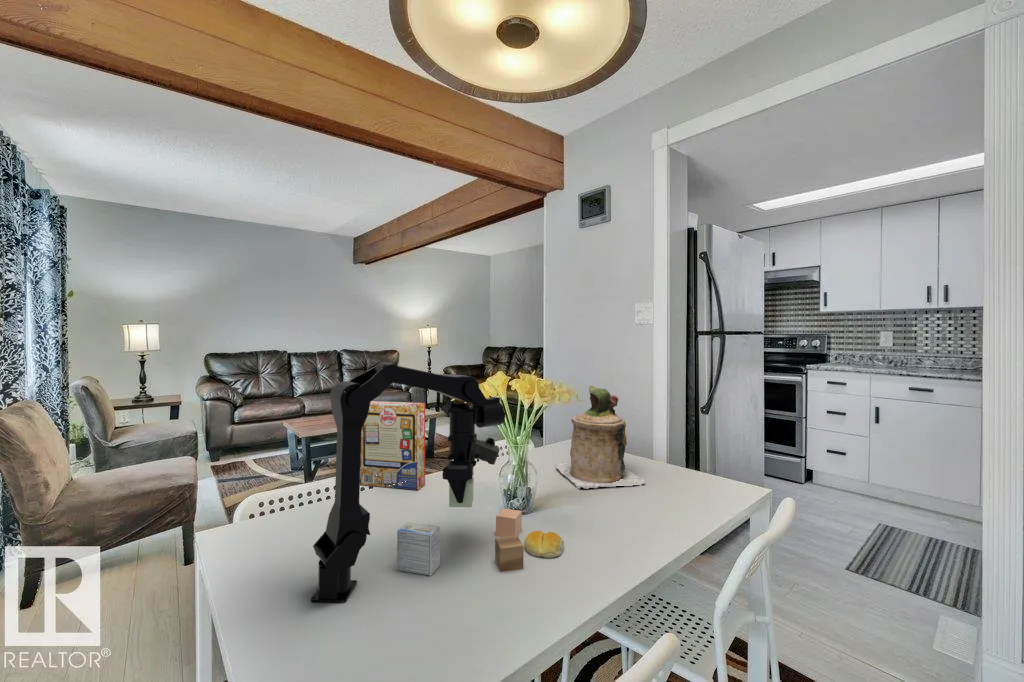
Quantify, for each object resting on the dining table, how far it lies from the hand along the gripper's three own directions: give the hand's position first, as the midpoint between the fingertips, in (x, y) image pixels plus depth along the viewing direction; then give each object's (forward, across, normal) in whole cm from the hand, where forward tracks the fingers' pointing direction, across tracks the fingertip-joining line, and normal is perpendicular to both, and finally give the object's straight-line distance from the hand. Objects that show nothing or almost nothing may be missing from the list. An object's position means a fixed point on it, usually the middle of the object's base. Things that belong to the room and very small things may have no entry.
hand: (461, 498), depth 100 cm
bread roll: (+12, +1, -19) cm, 23 cm away
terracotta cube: (+12, +9, -11) cm, 19 cm away
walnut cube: (+12, -6, -11) cm, 17 cm away
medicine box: (+12, -8, +8) cm, 17 cm away
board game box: (+12, +43, +27) cm, 52 cm away
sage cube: (+1, 0, 0) cm, 1 cm away
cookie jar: (+12, +54, -42) cm, 69 cm away
